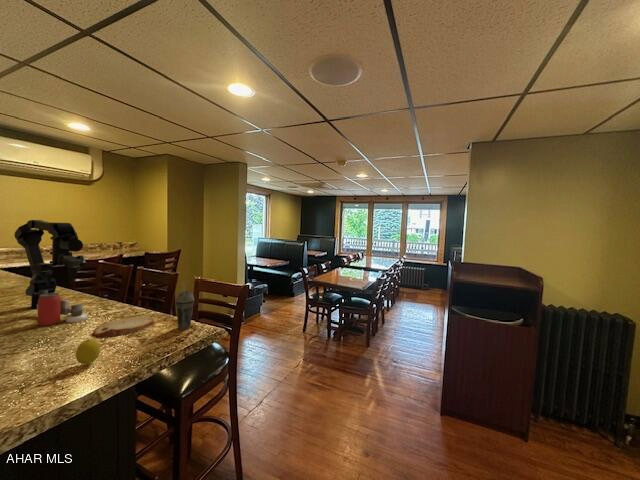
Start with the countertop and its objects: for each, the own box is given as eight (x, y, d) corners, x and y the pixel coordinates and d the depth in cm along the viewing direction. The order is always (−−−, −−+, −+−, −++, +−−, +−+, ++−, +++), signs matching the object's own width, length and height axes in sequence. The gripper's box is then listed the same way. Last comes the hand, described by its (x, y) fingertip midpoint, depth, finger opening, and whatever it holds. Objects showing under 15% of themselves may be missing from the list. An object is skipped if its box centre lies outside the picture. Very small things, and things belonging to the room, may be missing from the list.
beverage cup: (197, 326, 116) (199, 281, 115) (182, 332, 109) (184, 283, 108) (185, 323, 119) (187, 278, 118) (170, 328, 112) (172, 281, 111)
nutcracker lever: (84, 313, 117) (85, 294, 116) (74, 316, 113) (75, 296, 112) (44, 308, 121) (44, 289, 120) (33, 310, 117) (33, 291, 116)
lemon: (85, 360, 84) (85, 335, 84) (104, 360, 84) (104, 335, 84) (70, 369, 78) (70, 343, 78) (90, 370, 79) (91, 343, 79)
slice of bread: (157, 320, 121) (157, 312, 121) (142, 336, 104) (143, 327, 104) (110, 321, 116) (110, 313, 116) (87, 339, 99) (87, 329, 99)
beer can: (64, 321, 113) (65, 293, 113) (47, 327, 107) (47, 297, 106) (50, 320, 114) (51, 292, 113) (32, 325, 107) (33, 295, 107)
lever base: (71, 317, 118) (71, 313, 118) (90, 317, 120) (90, 312, 120) (61, 323, 111) (61, 318, 111) (81, 322, 113) (81, 317, 113)
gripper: (52, 252, 113) (51, 289, 113) (95, 249, 131) (95, 281, 132) (30, 250, 114) (30, 287, 115) (76, 248, 133) (76, 279, 134)
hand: (60, 283), depth 124 cm, fingers open, 9 cm apart
